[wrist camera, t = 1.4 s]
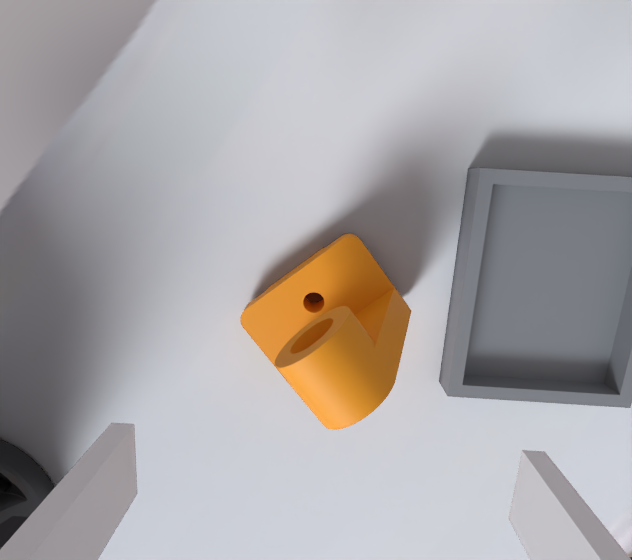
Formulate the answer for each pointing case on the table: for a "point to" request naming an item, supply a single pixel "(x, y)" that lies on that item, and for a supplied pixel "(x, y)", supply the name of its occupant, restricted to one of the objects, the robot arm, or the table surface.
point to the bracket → (333, 331)
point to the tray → (542, 290)
